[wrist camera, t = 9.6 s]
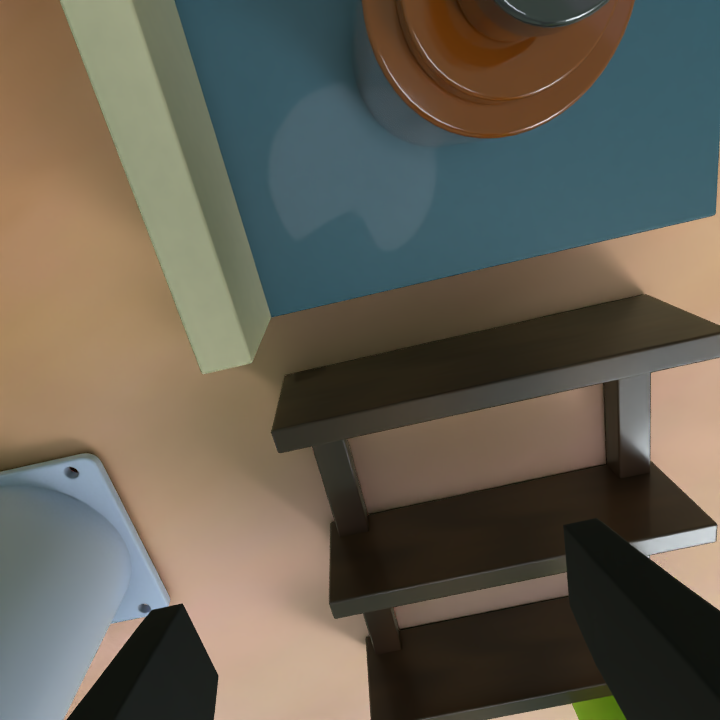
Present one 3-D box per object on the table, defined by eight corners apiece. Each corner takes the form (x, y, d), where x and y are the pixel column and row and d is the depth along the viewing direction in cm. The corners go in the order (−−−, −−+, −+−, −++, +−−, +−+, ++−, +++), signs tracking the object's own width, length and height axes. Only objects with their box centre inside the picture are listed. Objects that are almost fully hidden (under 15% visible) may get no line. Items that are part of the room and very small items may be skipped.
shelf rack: (368, 648, 23) (375, 741, 19) (284, 374, 18) (270, 431, 14) (646, 592, 22) (707, 678, 19) (646, 293, 17) (732, 329, 13)
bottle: (371, 164, 13) (408, 166, 6) (332, -30, 11) (326, -305, 5) (531, 126, 13) (744, 85, 6) (514, -76, 11) (781, -435, 4)
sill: (246, 304, 17) (201, 376, 11) (114, -106, 12) (-67, -324, 7) (661, 208, 16) (835, 232, 10) (667, -256, 12) (960, -627, 6)
